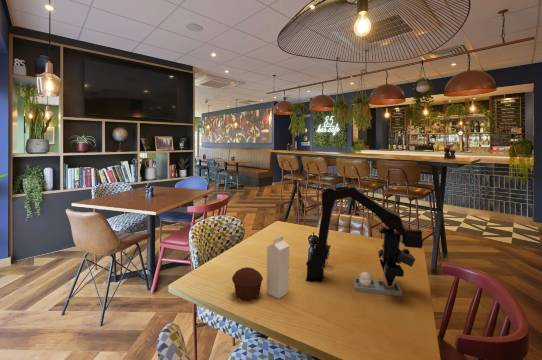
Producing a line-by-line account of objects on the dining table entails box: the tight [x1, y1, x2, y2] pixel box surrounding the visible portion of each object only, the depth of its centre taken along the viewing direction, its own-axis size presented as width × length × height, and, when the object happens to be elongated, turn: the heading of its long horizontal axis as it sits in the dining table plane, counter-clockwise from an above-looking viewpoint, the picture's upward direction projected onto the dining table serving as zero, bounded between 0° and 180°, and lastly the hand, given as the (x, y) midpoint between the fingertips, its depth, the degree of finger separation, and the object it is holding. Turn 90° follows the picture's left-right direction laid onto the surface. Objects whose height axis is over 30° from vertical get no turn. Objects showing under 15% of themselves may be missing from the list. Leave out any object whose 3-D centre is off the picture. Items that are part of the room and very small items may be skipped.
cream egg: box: [358, 271, 372, 288], centre depth 115 cm, size 4×4×6 cm
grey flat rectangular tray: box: [352, 277, 403, 297], centre depth 115 cm, size 17×8×2 cm, turn 78°
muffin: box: [231, 266, 264, 302], centre depth 109 cm, size 12×11×10 cm
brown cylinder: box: [382, 272, 396, 288], centre depth 113 cm, size 4×4×6 cm
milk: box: [266, 235, 290, 299], centre depth 110 cm, size 6×6×22 cm
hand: (388, 282), depth 113 cm, fingers closed on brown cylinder, 4 cm apart
